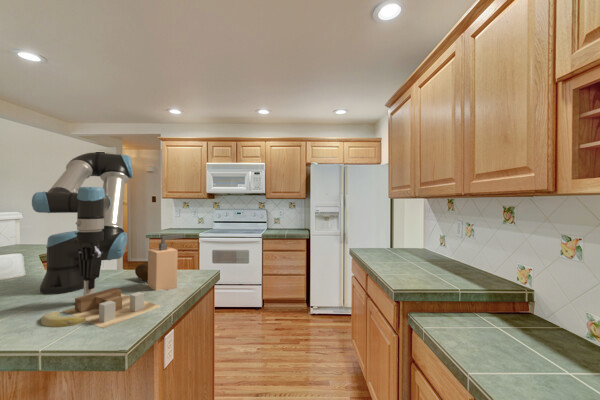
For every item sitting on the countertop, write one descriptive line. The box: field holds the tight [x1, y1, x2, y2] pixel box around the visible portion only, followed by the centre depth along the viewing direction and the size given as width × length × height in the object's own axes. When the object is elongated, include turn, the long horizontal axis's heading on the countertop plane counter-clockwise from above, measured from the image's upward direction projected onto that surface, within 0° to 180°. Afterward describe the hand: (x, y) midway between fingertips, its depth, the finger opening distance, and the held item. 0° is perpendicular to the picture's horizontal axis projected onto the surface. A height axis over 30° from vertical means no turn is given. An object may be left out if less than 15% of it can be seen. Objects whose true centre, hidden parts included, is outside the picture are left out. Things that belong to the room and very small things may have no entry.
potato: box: [134, 260, 148, 282], centre depth 123 cm, size 8×12×9 cm
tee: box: [74, 287, 122, 313], centre depth 89 cm, size 12×12×4 cm
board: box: [62, 293, 162, 329], centre depth 89 cm, size 24×18×1 cm
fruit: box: [40, 311, 87, 328], centre depth 79 cm, size 7×15×3 cm, turn 63°
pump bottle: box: [147, 233, 184, 291], centre depth 114 cm, size 13×9×22 cm
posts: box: [99, 291, 145, 323], centre depth 84 cm, size 3×12×5 cm, turn 153°
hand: (89, 297), depth 93 cm, fingers closed
